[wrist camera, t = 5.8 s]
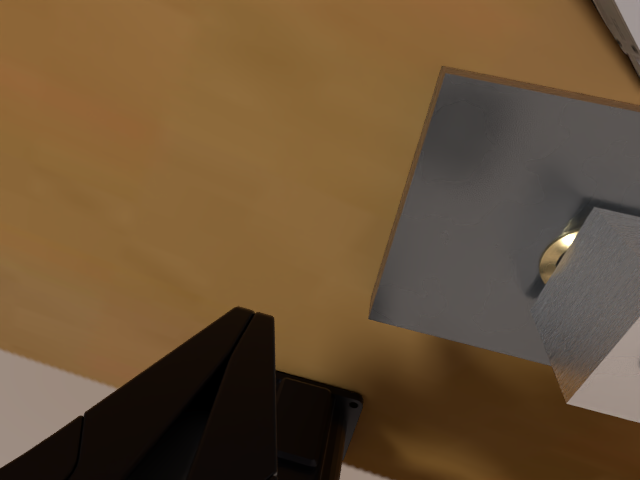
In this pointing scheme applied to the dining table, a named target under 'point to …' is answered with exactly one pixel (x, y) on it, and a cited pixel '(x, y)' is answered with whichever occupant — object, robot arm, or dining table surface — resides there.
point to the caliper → (623, 25)
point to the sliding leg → (596, 316)
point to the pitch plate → (500, 206)
